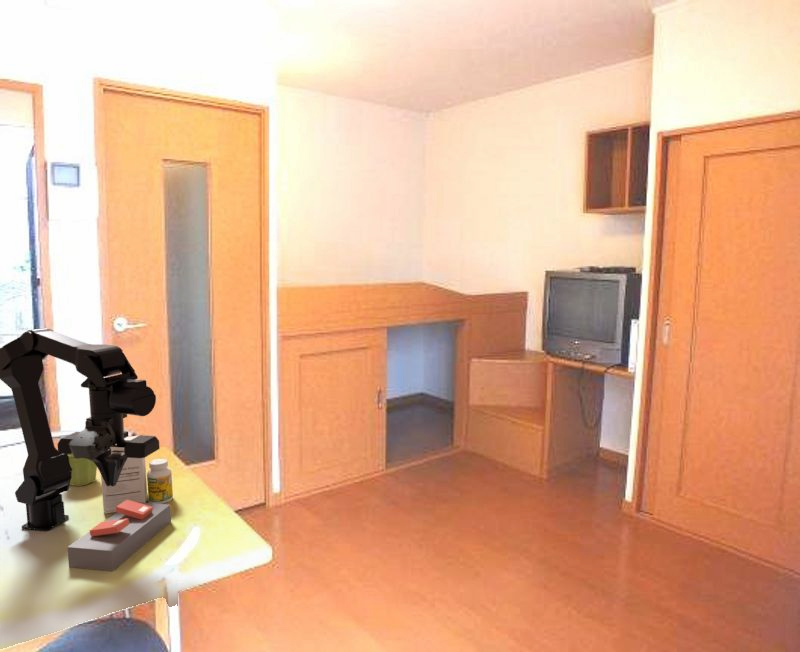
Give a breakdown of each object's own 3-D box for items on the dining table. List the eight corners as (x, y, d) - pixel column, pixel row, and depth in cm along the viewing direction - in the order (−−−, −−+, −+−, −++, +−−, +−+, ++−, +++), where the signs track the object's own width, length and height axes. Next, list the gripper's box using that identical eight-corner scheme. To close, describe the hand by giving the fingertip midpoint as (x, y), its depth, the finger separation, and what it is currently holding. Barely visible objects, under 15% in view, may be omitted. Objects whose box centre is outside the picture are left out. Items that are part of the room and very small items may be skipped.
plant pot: (63, 478, 151) (60, 446, 150) (103, 472, 155) (101, 441, 154) (59, 491, 143) (56, 458, 142) (102, 485, 147) (100, 452, 146)
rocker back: (115, 511, 120) (116, 506, 120) (126, 504, 123) (127, 499, 123) (142, 519, 119) (142, 514, 119) (152, 512, 123) (152, 506, 122)
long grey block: (69, 567, 109) (67, 547, 108) (144, 510, 132) (143, 494, 132) (112, 571, 107) (111, 550, 107) (180, 513, 131) (179, 496, 130)
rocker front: (90, 536, 112) (89, 530, 112) (103, 527, 116) (101, 521, 116) (118, 532, 111) (116, 526, 111) (129, 523, 115) (128, 517, 114)
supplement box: (107, 498, 139) (103, 438, 137) (147, 493, 142) (144, 434, 140) (102, 514, 130) (98, 450, 129) (145, 508, 134) (142, 445, 132)
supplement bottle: (175, 494, 141) (173, 457, 140) (169, 504, 136) (167, 465, 135) (152, 496, 140) (150, 458, 139) (145, 505, 135) (143, 466, 134)
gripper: (33, 419, 108) (39, 499, 110) (124, 424, 105) (129, 506, 107) (75, 404, 119) (80, 477, 121) (159, 408, 116) (162, 482, 118)
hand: (111, 485), depth 117 cm, fingers closed
